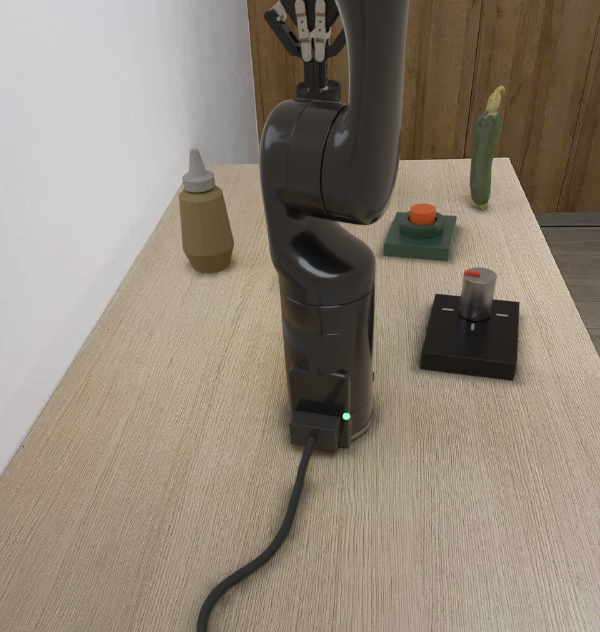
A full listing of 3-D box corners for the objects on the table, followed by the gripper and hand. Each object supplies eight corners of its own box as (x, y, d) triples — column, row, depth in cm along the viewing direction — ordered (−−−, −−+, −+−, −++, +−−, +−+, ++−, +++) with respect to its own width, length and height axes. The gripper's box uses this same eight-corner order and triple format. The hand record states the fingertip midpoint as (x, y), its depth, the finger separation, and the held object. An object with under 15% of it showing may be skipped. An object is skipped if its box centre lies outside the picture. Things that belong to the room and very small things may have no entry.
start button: (433, 227, 100) (434, 214, 98) (407, 225, 101) (408, 212, 99) (436, 216, 103) (437, 204, 101) (411, 214, 104) (412, 202, 102)
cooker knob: (491, 306, 83) (498, 266, 80) (489, 323, 80) (496, 282, 77) (460, 303, 84) (465, 263, 81) (457, 319, 81) (462, 278, 78)
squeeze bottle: (243, 271, 99) (229, 153, 88) (193, 282, 97) (172, 163, 86) (228, 249, 105) (213, 136, 94) (180, 260, 103) (159, 146, 92)
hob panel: (513, 381, 75) (517, 362, 74) (419, 369, 78) (421, 351, 76) (516, 317, 86) (520, 300, 84) (433, 308, 88) (435, 291, 87)
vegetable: (463, 211, 112) (478, 88, 99) (466, 201, 115) (480, 81, 102) (489, 213, 111) (508, 89, 98) (491, 203, 114) (509, 81, 101)
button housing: (447, 261, 98) (450, 237, 96) (383, 256, 101) (384, 232, 98) (455, 228, 107) (458, 205, 105) (396, 223, 109) (397, 201, 107)
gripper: (246, -67, 72) (260, 98, 83) (362, -72, 69) (360, 101, 80) (267, -73, 77) (277, 83, 88) (375, -77, 74) (371, 85, 85)
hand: (316, 91), depth 84 cm, fingers closed
